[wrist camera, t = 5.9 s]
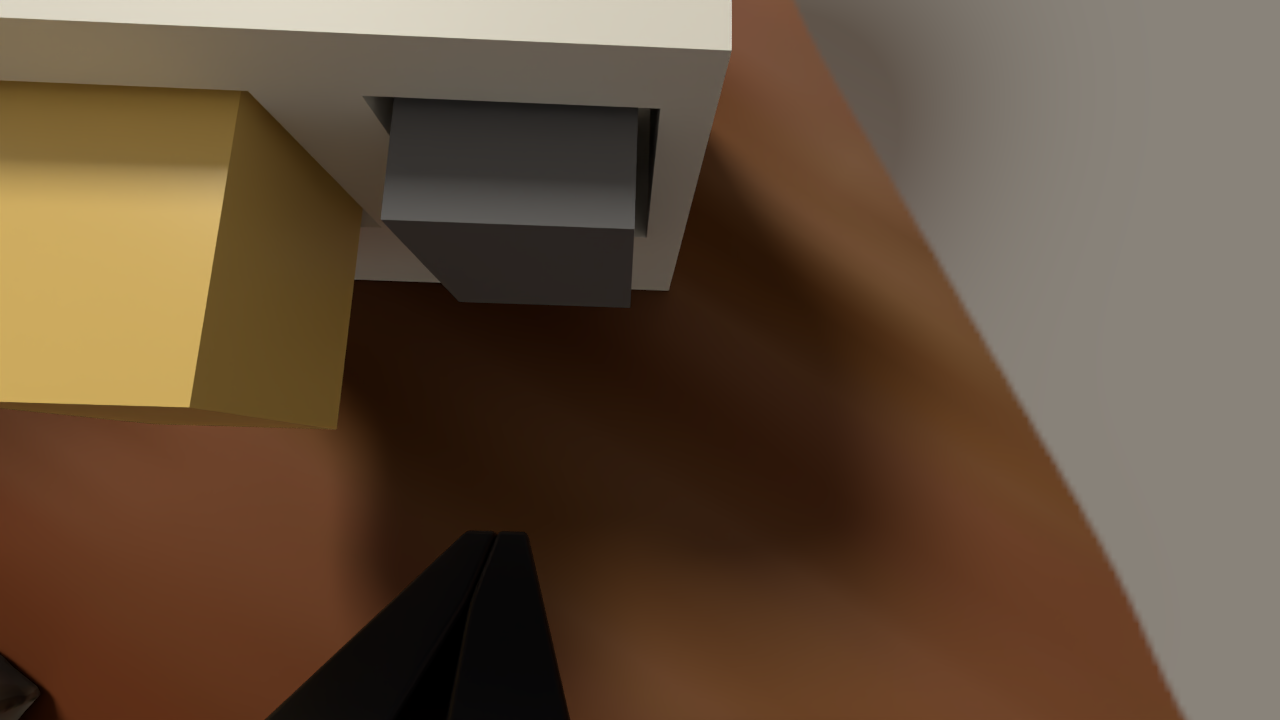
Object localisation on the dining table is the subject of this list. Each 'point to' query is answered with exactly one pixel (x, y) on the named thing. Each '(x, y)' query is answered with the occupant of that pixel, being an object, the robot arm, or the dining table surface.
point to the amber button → (169, 259)
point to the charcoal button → (516, 198)
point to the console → (410, 80)
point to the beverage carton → (14, 692)
